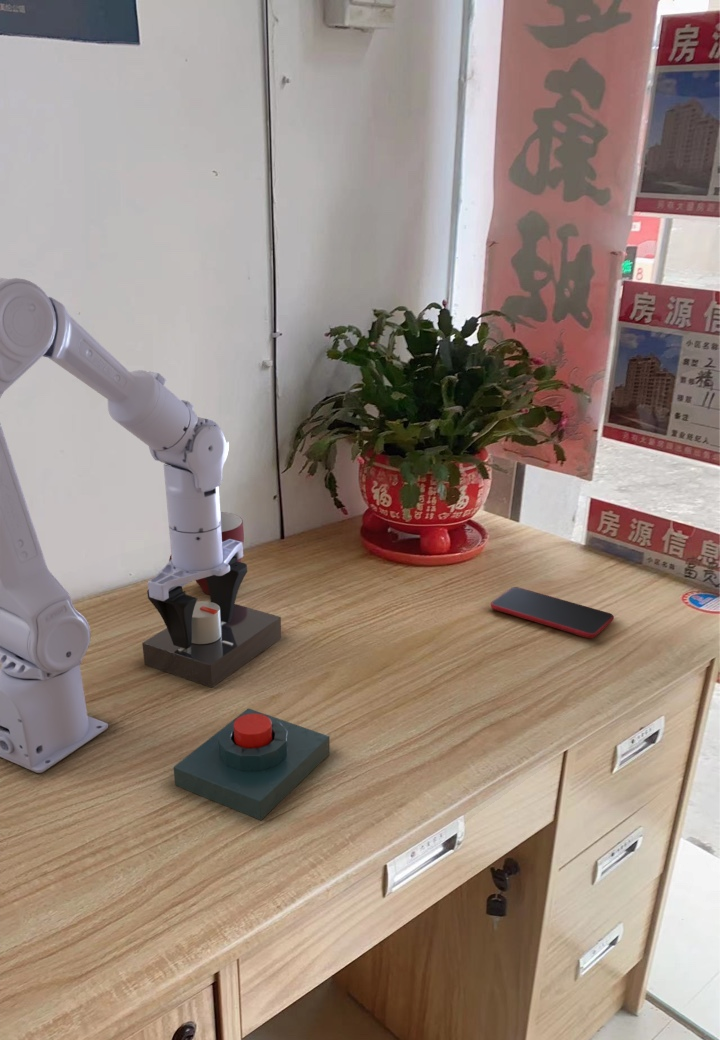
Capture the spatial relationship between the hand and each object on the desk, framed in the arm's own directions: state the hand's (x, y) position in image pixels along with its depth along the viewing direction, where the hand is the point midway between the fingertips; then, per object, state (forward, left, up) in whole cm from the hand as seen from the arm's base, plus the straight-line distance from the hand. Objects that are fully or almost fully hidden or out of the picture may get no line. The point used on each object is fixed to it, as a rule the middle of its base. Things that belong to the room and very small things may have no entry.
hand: (202, 632), depth 104 cm
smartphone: (+33, -32, -3) cm, 46 cm away
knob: (0, 0, 0) cm, 0 cm away
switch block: (-15, -18, -3) cm, 24 cm away
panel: (+2, 0, -3) cm, 4 cm away
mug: (+15, +11, -4) cm, 19 cm away
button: (-15, -18, 0) cm, 23 cm away
